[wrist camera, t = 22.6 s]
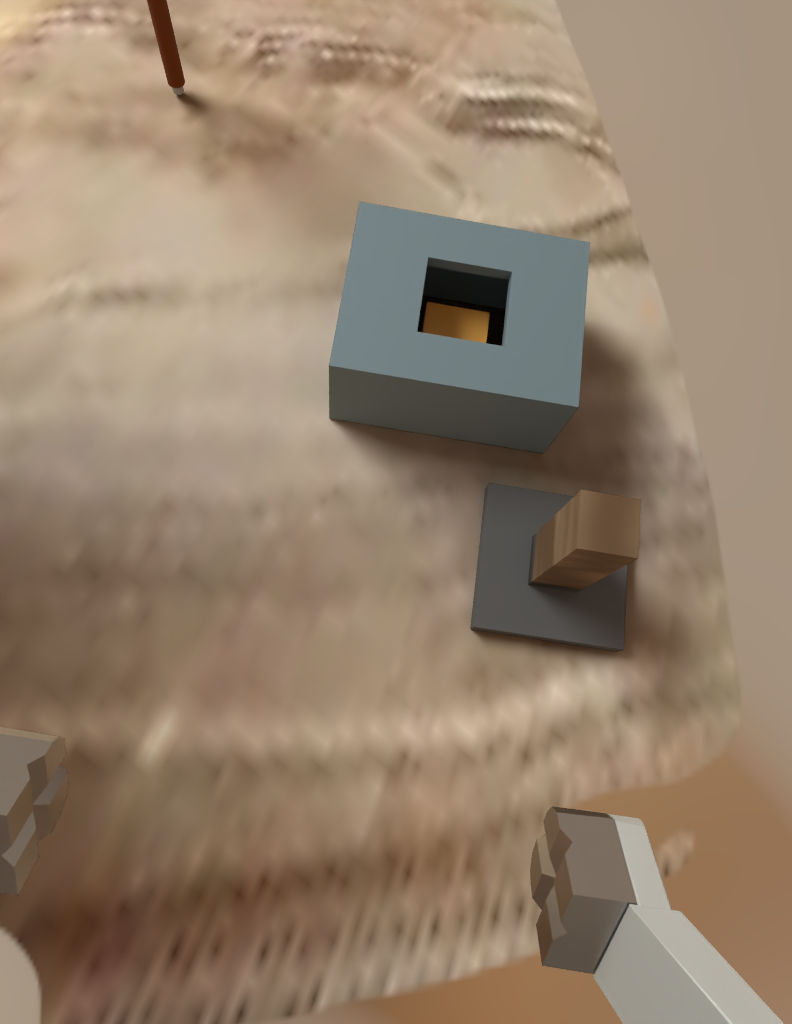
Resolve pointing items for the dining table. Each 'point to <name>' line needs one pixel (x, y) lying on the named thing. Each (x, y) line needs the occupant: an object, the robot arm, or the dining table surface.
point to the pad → (533, 608)
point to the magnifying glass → (167, 44)
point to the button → (456, 322)
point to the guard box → (451, 361)
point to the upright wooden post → (585, 541)
